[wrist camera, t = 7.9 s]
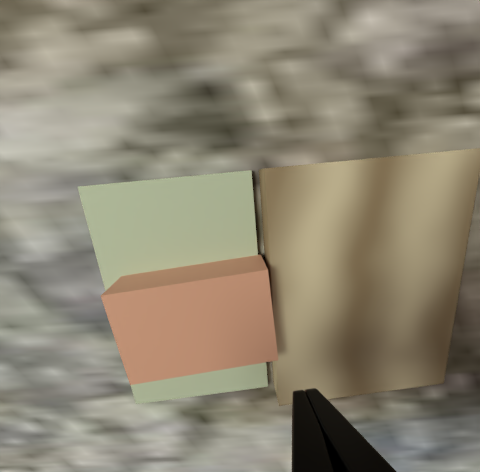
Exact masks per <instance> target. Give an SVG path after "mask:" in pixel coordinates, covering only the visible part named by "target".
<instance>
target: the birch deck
mask: <svg viewBox="0 0 480 472" xmlns="http://www.w3.org/2000/svg"><path fill="white" fill-rule="evenodd" d="M479 172H480V148H477V149H467V150H456V151H446V152H435V153H424V154H414V155H403V156H393V157H382V158H372V159H361V160H351V161H340V162H329V163H319V164H308V165H298V166H287V167H277V168H266V169H260V170H259V178H260V193H261V207H262V222H263V237H264V251H265V264H266V267H267V269H268V274H269V283H270V292H271V300H272V309H273V318H274V326H275V335H276V344H277V352H278V360H277V361H272V369H273V382H274V386H275V390H276V394H277V399H278V403H279V406H282V405H289V404H292V399H293V391H296V390H304V391H305V389H311V388H316V389H318V390H319V391H320V393H321V394H322V395H323V396H324V397H325V398H326V399H333V398H340V397H348V396H355V395H362V394H369V393H377V392H384V391H391V390H399V389H406V388H413V387H421V386H428V385H435V384H443V383H444V377H445V372H446V366H447V360H448V354H449V348H450V342H451V336H452V331H453V325H454V319H455V313H456V307H457V301H458V295H459V290H460V284H461V278H462V272H463V266H464V260H465V254H466V249H467V243H468V237H469V231H470V225H471V219H472V213H473V208H474V202H475V196H476V190H477V184H478V178H479Z"/></svg>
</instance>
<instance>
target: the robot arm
mask: <svg viewBox="0 0 480 472" xmlns="http://www.w3.org/2000/svg"><path fill="white" fill-rule="evenodd" d="M292 472H396V471H395V470H394V469H393V468H392V467H391V466H390V464H389V463H388V462H387V461H386V460H385V459H384V458H383V457H382V456H381V455H380V454H379V453H378V452H377V451H376V450H375V449H374V448H373V447H372V446H371V445H370V444H369V443H368V442H367V440H366V439H365V438H364V437H363V436H362V435H361V434H360V433H359V432H358V431H357V430H356V429H355V428H354V427H353V426H352V425H351V424H350V423H349V422H348V421H347V420H346V419H345V418H344V417H343V415H342V414H341V413H340V412H339V411H338V410H337V409H336V408H335V407H334V406H333V405H332V404H331V403H330V402H329V401H328V400H327V399H326V398H325V397H324V396H323V395H322V394H321V393H320V391H319V390H318V389H316V388H311V389H305V391H304V390H296V391H293V399H292Z"/></svg>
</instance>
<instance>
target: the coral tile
mask: <svg viewBox="0 0 480 472" xmlns="http://www.w3.org/2000/svg"><path fill="white" fill-rule="evenodd" d="M101 298H102V301H103V304H104V307H105V310H106V313H107V316H108V319H109V322H110V325H111V328H112V331H113V334H114V337H115V340H116V343H117V346H118V349H119V352H120V355H121V358H122V361H123V364H124V367H125V370H126V373H127V376H128V379H129V382H130V385H134V384H140V383H146V382H152V381H157V380H163V379H169V378H175V377H181V376H187V375H193V374H199V373H205V372H211V371H217V370H223V369H229V368H235V367H241V366H247V365H253V364H259V363H265V362H271V361H277V360H278V352H277V344H276V335H275V326H274V318H273V309H272V300H271V292H270V283H269V274H268V269H267V267H266V264H265V262H264V260H263V258H262V256H261V255H254V256H248V257H241V258H235V259H229V260H222V261H216V262H209V263H203V264H196V265H190V266H183V267H177V268H170V269H164V270H157V271H151V272H144V273H138V274H131V275H125V276H121V277H120V278H119V279H118V280H117V281H116V282H115V283H114V284H113V285H112V286H110V287H109V288H108V289H107V290H106V291H105V292H104V293H103V294H102V295H101Z"/></svg>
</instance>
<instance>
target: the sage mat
mask: <svg viewBox="0 0 480 472" xmlns="http://www.w3.org/2000/svg"><path fill="white" fill-rule="evenodd" d="M78 190H79V194H80V198H81V202H82V205H83V209H84V213H85V216H86V220H87V224H88V228H89V231H90V235H91V239H92V242H93V246H94V250H95V254H96V257H97V261H98V265H99V268H100V272H101V276H102V280H103V283H104V287H105V291H106V290H107V289H108V288H109V287H110V286H112V285H113V284H114V283H115V282H116V281H117V280H118V279H119V278H120V277H121V276H125V275H131V274H138V273H144V272H151V271H157V270H164V269H170V268H177V267H183V266H190V265H196V264H203V263H209V262H216V261H222V260H229V259H235V258H241V257H248V256H254V255H258V249H257V236H256V223H255V210H254V197H253V184H252V170H250V171H240V172H229V173H219V174H208V175H197V176H187V177H176V178H166V179H155V180H145V181H134V182H124V183H113V184H103V185H92V186H81V187H78ZM131 387H132V391H133V395H134V398H135V402H136V404H141V403H148V402H156V401H163V400H171V399H178V398H186V397H193V396H201V395H208V394H216V393H223V392H231V391H238V390H246V389H253V388H261V387H268V380H267V367H266V362H265V363H259V364H253V365H247V366H241V367H235V368H229V369H223V370H217V371H211V372H205V373H199V374H193V375H187V376H181V377H175V378H169V379H163V380H157V381H152V382H146V383H140V384H134V385H131Z"/></svg>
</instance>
